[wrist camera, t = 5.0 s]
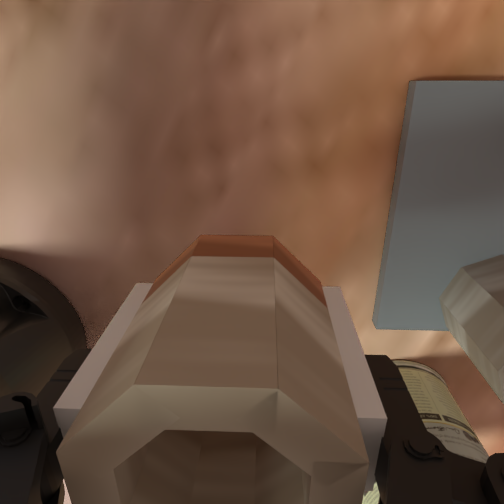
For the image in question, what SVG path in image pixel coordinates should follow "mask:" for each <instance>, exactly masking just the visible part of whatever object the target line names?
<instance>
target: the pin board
mask: <svg viewBox="0 0 504 504" xmlns="http://www.w3.org/2000/svg"><path fill="white" fill-rule="evenodd" d="M498 255H504V81H410V82H409V88H408V94H407V101H406V107H405V114H404V120H403V126H402V133H401V139H400V146H399V152H398V158H397V165H396V171H395V178H394V184H393V191H392V197H391V203H390V210H389V216H388V223H387V229H386V235H385V242H384V248H383V255H382V261H381V267H380V274H379V280H378V287H377V293H376V299H375V306H374V312H373V319H372V321H373V323H374V326H375V328H376V329H391V330H435V331H449V330H448V328H447V327H446V324H445V320H444V316H443V312H442V308H441V304H440V300H439V297H440V296H441V294H442V293H443V291H444V290H445V289H446V287H447V286H448V285H449V283H450V282H451V280H452V279H453V278H454V276H455V275H456V274H457V272H458V271H459V270H460V268H461V267H464V266H467V265H470V264H473V263H476V262H479V261H483V260H486V259H489V258H492V257H495V256H498Z"/></svg>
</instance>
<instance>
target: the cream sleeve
mask: <svg viewBox="0 0 504 504" xmlns="http://www.w3.org/2000/svg"><path fill="white" fill-rule="evenodd" d="M56 454H57V457H58V461H59V464H60V467H61V470H62V474H63V477H64V480H65V483H66V486H67V490H68V493H69V496H70V499H71V503H72V504H362V501H363V495H364V490H365V485H366V479H367V474H368V469H369V459H368V456H367V452H366V448H365V444H364V441H363V437H362V433H361V430H360V426H359V422H358V418H357V415H356V411H355V407H354V404H353V400H352V396H351V392H350V389H349V385H348V381H347V378H346V374H345V370H344V366H343V363H342V359H341V355H340V352H339V348H338V344H337V340H336V337H335V333H334V329H333V326H332V322H331V318H330V314H329V311H328V307H327V303H326V300H325V296H324V292H323V289H322V285H321V282H320V281H319V280H318V279H317V278H316V277H315V276H314V275H313V274H312V273H311V272H310V271H309V270H308V269H307V268H306V267H305V266H304V265H303V264H302V263H301V262H300V261H299V260H298V259H297V258H295V257H294V256H293V255H292V254H291V253H290V252H289V251H288V250H287V249H286V248H285V247H284V246H283V245H282V244H281V243H280V242H279V241H278V240H277V239H276V238H275V237H274V236H247V235H200V236H199V237H198V238H197V239H196V240H195V241H194V242H193V243H192V244H191V245H190V246H189V247H188V248H187V249H186V250H185V251H184V252H183V253H182V254H181V255H180V256H179V257H178V258H177V259H176V260H175V261H174V262H173V263H172V264H171V265H170V266H169V267H168V268H167V269H166V270H165V271H164V272H163V273H162V274H161V275H159V276H158V277H157V278H156V280H155V282H154V283H153V285H152V287H151V288H150V290H149V292H148V294H147V295H146V297H145V299H144V301H143V302H142V304H141V306H140V307H139V309H138V311H137V313H136V314H135V316H134V318H133V320H132V321H131V323H130V325H129V326H128V328H127V330H126V332H125V333H124V335H123V337H122V339H121V340H120V342H119V344H118V345H117V347H116V349H115V351H114V352H113V354H112V356H111V358H110V359H109V361H108V363H107V364H106V366H105V368H104V370H103V371H102V373H101V375H100V377H99V378H98V380H97V382H96V383H95V385H94V387H93V389H92V390H91V392H90V394H89V396H88V397H87V399H86V401H85V402H84V404H83V406H82V408H81V409H80V411H79V413H78V414H77V416H76V418H75V420H74V421H73V423H72V425H71V427H70V428H69V430H68V432H67V433H66V435H65V437H64V439H63V440H62V442H61V444H60V446H59V447H58V449H57V451H56Z"/></svg>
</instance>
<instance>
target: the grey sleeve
mask: <svg viewBox="0 0 504 504" xmlns="http://www.w3.org/2000/svg"><path fill="white" fill-rule="evenodd" d="M439 300H440V304H441V308H442V312H443V316H444V320H445V324H446V327H447V328H448V330H449V331H450V333H451V334H452V335H453V337H454V338H455V339H456V341H457V342H458V343H459V345H460V346H461V347H462V349H463V350H464V352H465V353H466V354H467V356H468V357H469V358H470V360H471V361H472V362H473V364H474V365H475V366H476V368H477V369H478V370H479V372H480V373H481V375H482V376H483V377H484V379H485V380H486V381H487V383H488V384H489V385H490V387H491V388H492V389H493V391H494V392H495V394H496V395H497V396H498V398H499V399H500V400H501V402H502V403H503V404H504V255H498V256H495V257H492V258H489V259H486V260H483V261H479V262H476V263H473V264H470V265H467V266H464V267H461V268H460V270H459V271H458V272H457V274H456V275H455V276H454V278H453V279H452V280H451V282H450V283H449V285H448V286H447V287H446V289H445V290H444V291H443V293H442V294H441V296H440V297H439Z"/></svg>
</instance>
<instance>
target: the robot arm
mask: <svg viewBox="0 0 504 504" xmlns="http://www.w3.org/2000/svg"><path fill="white" fill-rule="evenodd" d="M152 285H153V283H136V284H135V286H134V287H133V289H132V290H131V292H130V293H129V295H128V296H127V298H126V299H125V301H124V302H123V304H122V305H121V307H120V308H119V310H118V311H117V313H116V314H115V316H114V317H113V319H112V320H111V322H110V323H109V325H108V326H107V328H106V329H105V331H104V332H103V334H102V335H101V337H100V338H99V340H98V341H97V343H96V344H95V346H94V347H93V349H86V337H85V333H84V329H83V326H82V323H81V321H80V319H79V317H78V315H77V313H76V312H75V310H74V308H73V307H72V306H71V304H70V303H69V302H68V300H67V299H66V298H65V297H64V296H63V295H62V294H61V292H60V291H58V290H57V289H56V288H55V287H54V286H53V285H52V284H51V283H49V282H48V281H47V280H45V279H44V278H43V277H41V276H40V275H38V274H37V273H35V272H33V271H32V270H30V269H28V268H26V267H24V266H22V265H19V264H17V263H14V262H12V261H9V260H6V259H3V258H0V504H63V502H64V495H65V490H64V484H63V479H64V477H63V474H62V470H61V467H60V464H59V461H58V457H57V454H56V451H57V449H58V447H59V446H60V444H61V442H62V440H63V439H64V437H65V435H66V433H67V432H68V430H69V428H70V427H71V425H72V423H73V421H74V420H75V418H76V416H77V414H78V413H79V411H80V409H81V408H82V406H83V404H84V402H85V401H86V399H87V397H88V396H89V394H90V392H91V390H92V389H93V387H94V385H95V383H96V382H97V380H98V378H99V377H100V375H101V373H102V371H103V370H104V368H105V366H106V364H107V363H108V361H109V359H110V358H111V356H112V354H113V352H114V351H115V349H116V347H117V345H118V344H119V342H120V340H121V339H122V337H123V335H124V333H125V332H126V330H127V328H128V326H129V325H130V323H131V321H132V320H133V318H134V316H135V314H136V313H137V311H138V309H139V307H140V306H141V304H142V302H143V301H144V299H145V297H146V295H147V294H148V292H149V290H150V288H151V287H152ZM322 289H323V292H324V296H325V300H326V303H327V307H328V311H329V314H330V318H331V322H332V326H333V329H334V333H335V337H336V340H337V344H338V348H339V352H340V355H341V359H342V363H343V366H344V370H345V374H346V378H347V381H348V385H349V389H350V392H351V396H352V400H353V404H354V407H355V411H356V415H357V418H358V422H359V426H360V430H361V433H362V437H363V441H364V444H365V448H366V452H367V456H368V459H369V469H368V474H367V479H366V485H365V490H364V491H373V487H374V482H375V479H376V482H377V486H378V490H379V493H380V496H379V501H378V504H504V453H495V454H493V455H491V456H490V457H488V459H487V462H486V463H483V462H480V461H476V460H473V459H470V458H467V457H463V456H460V455H458V454H455V453H453V452H451V451H449V450H447V449H446V448H445V446H444V445H443V444H442V442H441V441H440V440H439V439H438V438H437V437H436V436H434V435H433V434H432V433H430V432H428V431H427V429H426V427H425V425H424V423H423V421H422V419H421V416H420V414H419V412H418V410H417V408H416V405H415V403H414V401H413V399H412V397H411V395H410V392H409V391H408V388H407V386H406V384H405V382H404V381H403V377H402V375H401V373H400V371H399V369H398V366H397V365H396V364H395V363H394V362H393V361H392V360H391V359H390V358H389V357H387V356H386V355H364V352H363V349H362V346H361V344H360V341H359V338H358V335H357V332H356V330H355V327H354V324H353V321H352V318H351V316H350V313H349V310H348V307H347V304H346V302H345V299H344V296H343V293H342V290H341V288H340V287H330V286H322Z"/></svg>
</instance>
